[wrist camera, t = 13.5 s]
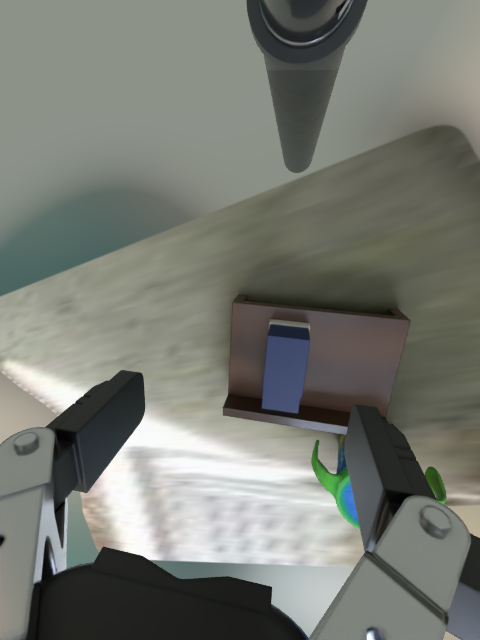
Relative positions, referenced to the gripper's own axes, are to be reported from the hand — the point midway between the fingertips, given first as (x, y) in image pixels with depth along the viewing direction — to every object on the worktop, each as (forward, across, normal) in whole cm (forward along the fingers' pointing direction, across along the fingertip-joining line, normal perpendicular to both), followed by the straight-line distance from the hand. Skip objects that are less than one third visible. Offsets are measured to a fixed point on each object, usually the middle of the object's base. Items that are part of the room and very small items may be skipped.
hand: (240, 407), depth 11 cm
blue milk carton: (+24, -2, +10) cm, 26 cm away
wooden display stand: (+28, -5, +10) cm, 30 cm away
